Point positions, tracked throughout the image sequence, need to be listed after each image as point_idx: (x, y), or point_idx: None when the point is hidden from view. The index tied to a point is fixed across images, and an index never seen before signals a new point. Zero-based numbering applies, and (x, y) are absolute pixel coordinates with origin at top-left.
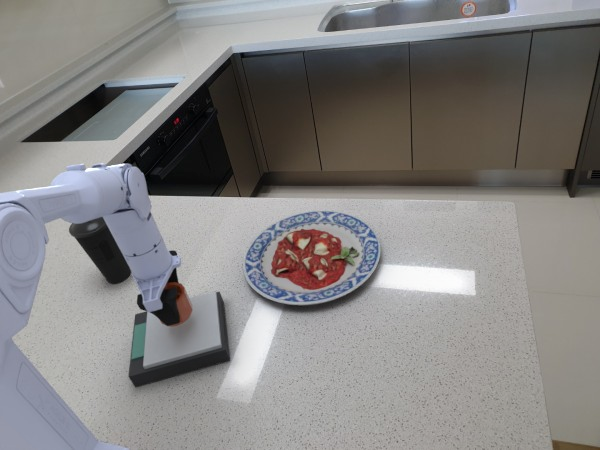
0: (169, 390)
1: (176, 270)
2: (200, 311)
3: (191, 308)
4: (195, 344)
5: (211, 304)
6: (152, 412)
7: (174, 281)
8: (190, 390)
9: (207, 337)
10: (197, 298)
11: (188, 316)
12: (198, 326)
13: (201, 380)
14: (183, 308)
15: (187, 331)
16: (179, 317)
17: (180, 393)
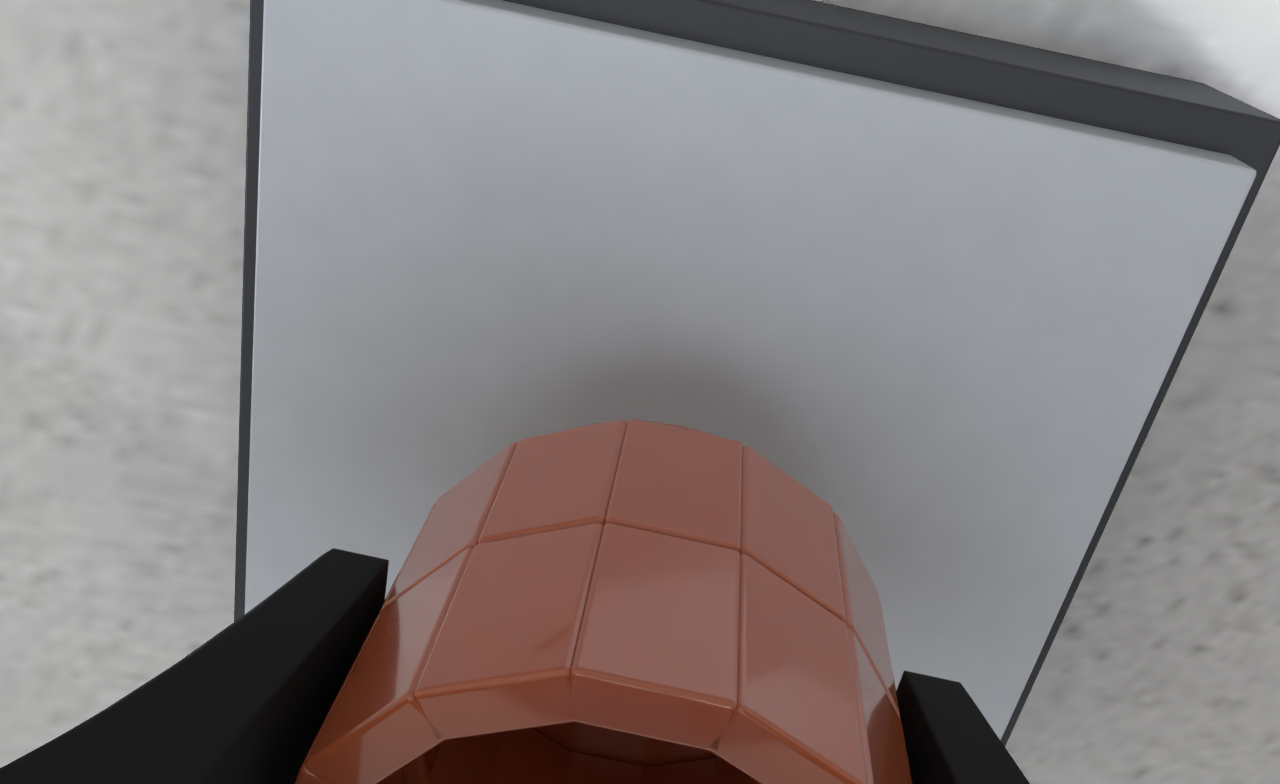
0: (1108, 631)
1: (27, 762)
2: (551, 253)
3: (742, 466)
4: (1030, 430)
5: (504, 91)
6: (1208, 761)
7: (260, 752)
8: (1239, 498)
9: (1027, 286)
10: (306, 232)
11: (841, 523)
12: (785, 336)
13: (1212, 395)
14: (865, 660)
15: (779, 459)
16: (986, 730)
17: (1203, 570)
